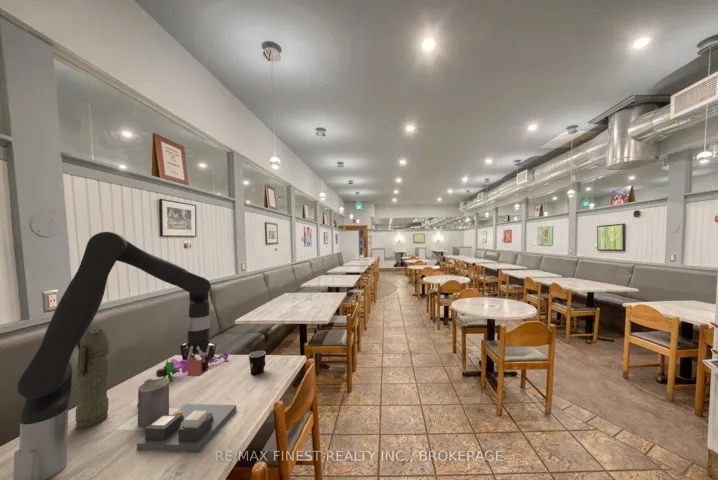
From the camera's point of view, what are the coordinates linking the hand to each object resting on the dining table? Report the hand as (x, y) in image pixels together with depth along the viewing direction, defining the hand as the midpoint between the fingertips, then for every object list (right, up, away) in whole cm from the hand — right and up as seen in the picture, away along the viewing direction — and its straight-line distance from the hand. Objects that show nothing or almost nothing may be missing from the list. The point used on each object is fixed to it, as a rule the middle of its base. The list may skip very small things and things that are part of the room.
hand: (197, 370), depth 101 cm
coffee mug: (+9, -20, +36) cm, 42 cm away
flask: (-29, -20, +10) cm, 36 cm away
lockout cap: (0, -1, 0) cm, 1 cm away
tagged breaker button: (-5, -16, -11) cm, 20 cm away
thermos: (-41, -20, -1) cm, 46 cm away
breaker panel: (+1, -19, -6) cm, 19 cm away
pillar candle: (-17, -19, 0) cm, 26 cm away
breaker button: (+7, -14, -12) cm, 19 cm away
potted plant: (-28, -22, +42) cm, 55 cm away
